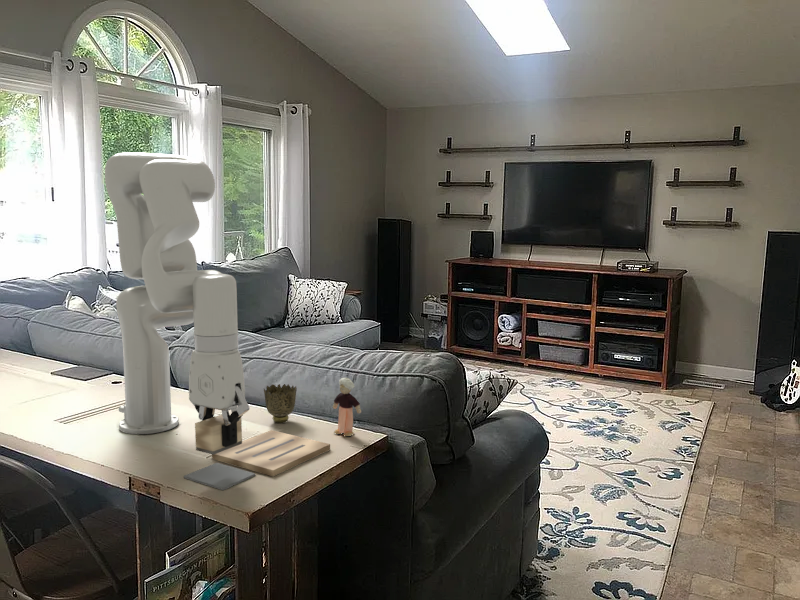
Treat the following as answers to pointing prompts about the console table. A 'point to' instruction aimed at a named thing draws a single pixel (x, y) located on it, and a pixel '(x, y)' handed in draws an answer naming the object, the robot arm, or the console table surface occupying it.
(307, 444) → the plank
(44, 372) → the console table surface
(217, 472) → the mat
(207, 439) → the block
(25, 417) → the console table surface
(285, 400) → the cup
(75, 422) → the console table surface
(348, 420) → the grandmother figurine
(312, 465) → the console table surface
